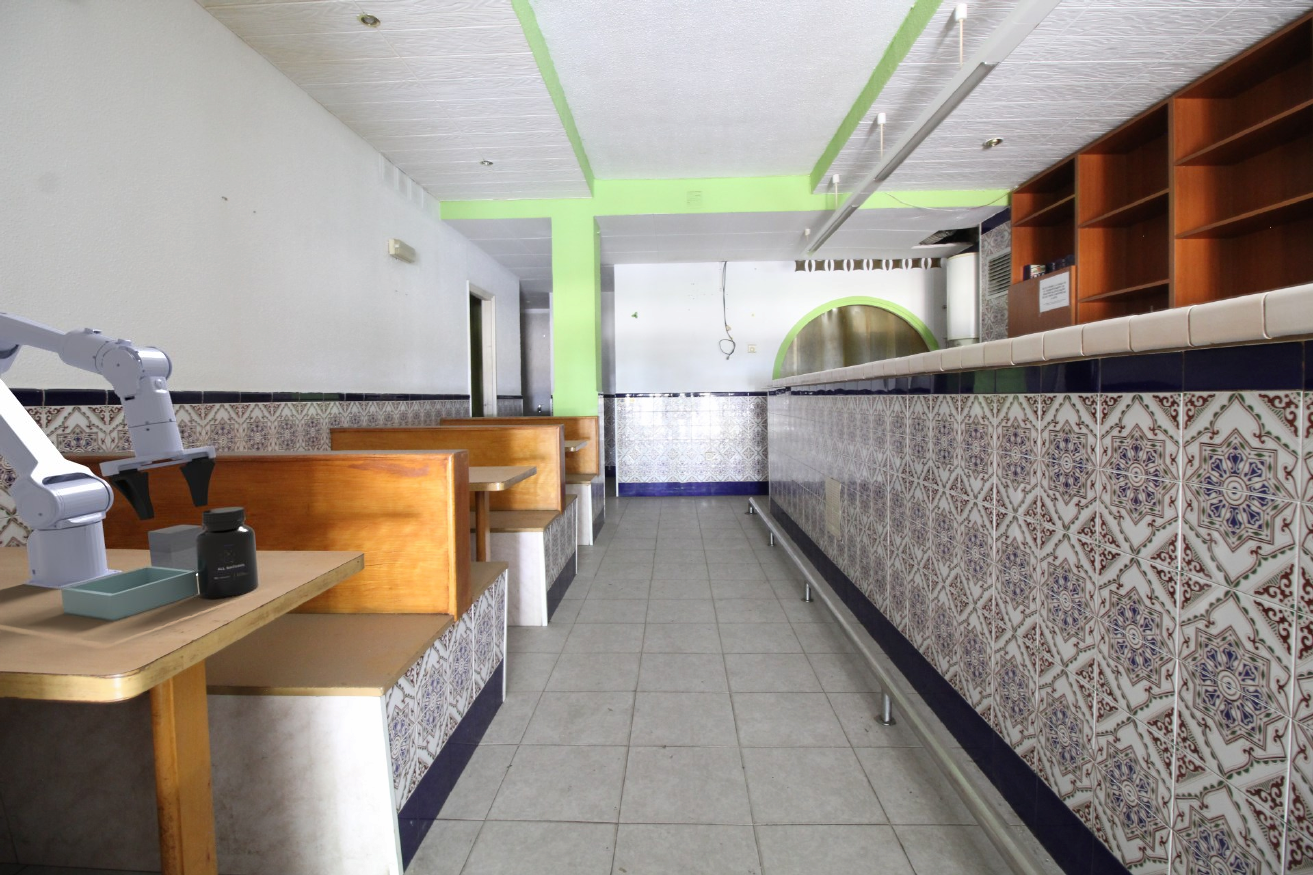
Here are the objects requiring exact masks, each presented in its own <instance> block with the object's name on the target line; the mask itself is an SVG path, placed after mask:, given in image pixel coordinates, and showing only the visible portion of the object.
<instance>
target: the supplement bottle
mask: <svg viewBox="0 0 1313 875" xmlns="http://www.w3.org/2000/svg"><path fill="white" fill-rule="evenodd" d="M201 514H202V515H201V516H202V523H201V526H203V527H204V529H203V531H202V532H200V533H199V534H198V535H197V537H196V539H195V547H196V560H197V572H198V575H197V585H198V595H199V597H200V598H201V599H203V600H206V601H208V600H209V601H210V600H211V601H212V600H224V599H229V598H235V597H239V596H243V595H245V594H248V593H252V592H254V591H255V590H257V589H258V587H259V574H258V573H259V572H258V560H257V559H258V558H257V545H256V535H255V534H256V533H255V530H254V529H253V527H250V526H249V525H247V524H245V522H246V519H247V518H246V514H245V508H244V507H243V506H242V507H241V506H231V507H220V508H219V507H218V508H213V509H208V510H205V511H203V512H202V513H201Z"/></svg>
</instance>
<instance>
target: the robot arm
mask: <svg viewBox="0 0 1313 875" xmlns="http://www.w3.org/2000/svg"><path fill="white" fill-rule="evenodd" d="M102 332H103V330H101V329H97V328H93V327H84V329H83V328H82V329H81V328H79V329H77V328H76V329H74V330H70V331H67V332H66V331H64V330H61V329H58V328H55V327H53V326H50V325H47V324H44V323H41V322H38V321H36V320H33V319H30V318H27V317H25V316H23V315H16V314H11V313H9V312H2V311H1V312H0V376H1V375H2V374H4V373H6V372H8V371H9V370H10V369H11V367H12V366H13V364H14V361H15V359H16V358H17V356H18V354H19V352H20V351H21V349H22V347H23V346H29V347H33V348H36V349H40V350H45V351H49V352H52V353H56V354H58V357H59V359H60V360H61V361H62V362H63V364H64V363H65V364H66V365H68V366H70V367H74V368H77V369H80V370H84V371H87V372H90V373H94V374H97V375H99V376H103V378H104V379H105V381H107V382H108V383H110V385H111V386H112V388H113V392H114V395H117V397H118V398H120V404H121V407H122V410H123V411H122V412H123V414H124V417H125V423H126V424H127V425H126V426H127V429H128V433H129V437H130V441H131V444H132V449H133V451H134V456H135V457H130V458H122V459H116V460H111V461H110V460H109V461H104V462H100V463H99V468H100V470H101V471H100V472H101V475H102V477H107V476H108V477H107V480H108V482H109V483H108V482H107V481H106V480H105V479H103V478H100V477H99V476H97V475H96V474H94V473H93V472H92V471H91V469H90V467H87V466H85V465H82V464H79V463H77V462H73V461H71V460H67V459H66V458H65V457H64V456H63V455H62V454H61V452H60V451H59V450H58V449H57V447H56V446H55V445H54V444H53V443H52V441H51V439H49V437H48V436H47V435H46V434H45V432H44V431H43V430H42V428H41V427H40V426H39V425H38V424H37V423H36V421H35V420H34V419H33V417H32V416H31V415H30V414H29V413H28V411H27V410H26V409H25V408H24V406H23V404H21V402H20V401H19V400H18V399H17V397H16V396H15V395H14V394H13V392H12V390H10V389H9V387H8V386H7V385H6V384H5V382H4V381H3V380H2V379H1V377H0V455H1V456H2V457H3V459H4V460H5V461H6V462H7V463H8V465H9V466H10V467H11V469H12V470H13V472H15V473H16V475H17V478H16V479H15V480H14V481H13V483H12V484H11V486H10V487H9V489H8V491H7V493H8V495H10V497H11V498H12V500H13V501H14V504H15V508H16V512H17V514H18V517H19V518H20V519H21V521H22V522H24V523H25V524H27V525H28V526H30V530H31V531H32V532H30V534H29V536H28V537H27V540H26V551H27V552H26V553H27V559H28V560H27V561H28V568H29V575H30V576H29V577H30V580H26V581H23V582H22V584H23V585H27V586H34V587H35V586H36V587H42V588H49V589H55V590H56V589H57V590H59V589H60V590H61V589H63V588H67V587H71V586H75V585H78V584H82V583H86V582H90V581H94V580H97V579H101V578H105V577H109V576H113V575H116V574H120V573H123V571H122V570H120V569H109V568H108V562H107V560H108V559H107V552H106V546H105V537H104V528H103V527H104V526H103V519H106V517H107V515H106V514H107V512H108V511H109V510H110V509H111V508H112V506H113V503H114V491H113V489H112V487H111V486H113V487H114V488H115V489H116V490H117V491H118V492H119V493H120V494H121V495H122V496H123V497H124V498H125V499H126V500H127V501H128V502H129V504H130V505H131V506H132V509H133V510H134V511H135V512H136V515H137V516H138V518H139V519H140V521H146V520H152V519H155V510H154V508H153V507H154V506H153V503H152V500H151V496H150V495H151V494H150V488H149V474H150V473H149V472H148V471H144V472H142V471H141V470H148V469H154V468H159V467H164V466H171V465H177V464H183V463H185V464H184V465H180V466H179V467H178V468H179V470H180V472H181V473H182V475H183V477H184V479H185V481H186V484H187V486H188V488H189V493H190V496H191V500H192V502H193V505H194V508H199V507H200V508H201V507H205V506H208V505H209V490H210V489H209V488H210V481H211V478H212V473H213V471H214V468H215V466H216V460H215V458H216V457H217V454H216V451H215V446H214V445H207V446H201V447H194V448H193V447H192V448H187V449H186V448H185V449H184V445H183V442H182V438H181V437H182V436H181V433H180V429H179V426H178V421H177V419H176V414H175V411H174V406H173V402H172V397H171V394H170V392H169V391H170V390H169V386H168V383H167V381H168V380H169V378H170V377H171V375H172V372H173V363H172V359H171V358H170V356H169V355H168V354H167V353H166V352H165V351H164V350H161V349H160V348H158V347H157V346H152V345H151V346H150V345H149V346H148V345H147V346H135V345H134V344H132V341H131V340H129V339H127V338H118V339H116V338H113V337H109V336H106V335H103V334H102ZM166 459H171V460H172V461H165V462H160V463H154V464H153V462H154V461H161V460H166Z"/></svg>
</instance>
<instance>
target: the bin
mask: <svg viewBox="0 0 1313 875" xmlns="http://www.w3.org/2000/svg"><path fill="white" fill-rule="evenodd" d="M60 591H61V597H62V598H61V599H62V606H63V614H66V615H71V616H78V617H85V618H90V619H97V620H102V621H103V620H104V621H110V622H115V621H118V620H119V621H120V620H121V619H126V618H128V617H131V616H134V615H138V614H140V613H144V612H146V611H149V610H152V609H156V608H159V607H162V606H164V605H168V604H171V603H175V602H178V601H180V600H184V599H187V598H189V597H193V596H196V595H199V584H198V575H196V571H190V570H181V569H172V568H163V567H154V566H151V565H147V566H144V567H141V568H136V569H131V570H128V571H125V572H122V573H119V574H115V575H112V576H108V577H104V578H100V579H96V580H93V581H89V582H85V583H81V584H77V585H74V586H70V587H66V588H62V589H60Z"/></svg>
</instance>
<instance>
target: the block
mask: <svg viewBox="0 0 1313 875" xmlns="http://www.w3.org/2000/svg"><path fill="white" fill-rule="evenodd" d="M203 530H204V526H203V525H193V524H179V525H173V526H170V527H164V528H159V529H155V530H150V531H147V537H148V546H149V557H150V562H151V563H150V566H154V567H163V568H172V569H181V570H190V571H196V574H198V572H197V560H196V547H195V539H196V537H197V535H198V534H199V533H200V532H202V531H203Z"/></svg>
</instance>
